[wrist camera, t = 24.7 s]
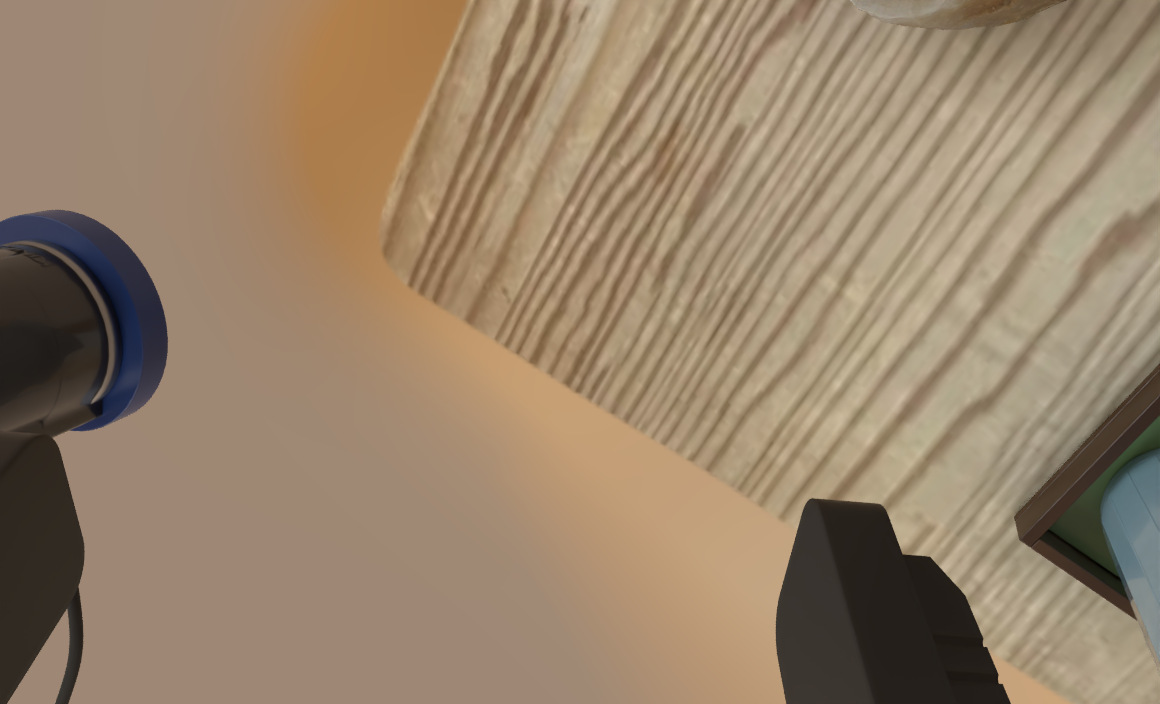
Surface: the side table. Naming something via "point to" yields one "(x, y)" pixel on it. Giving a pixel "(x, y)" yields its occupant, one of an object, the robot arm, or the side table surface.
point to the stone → (952, 12)
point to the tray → (1092, 495)
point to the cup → (1137, 539)
